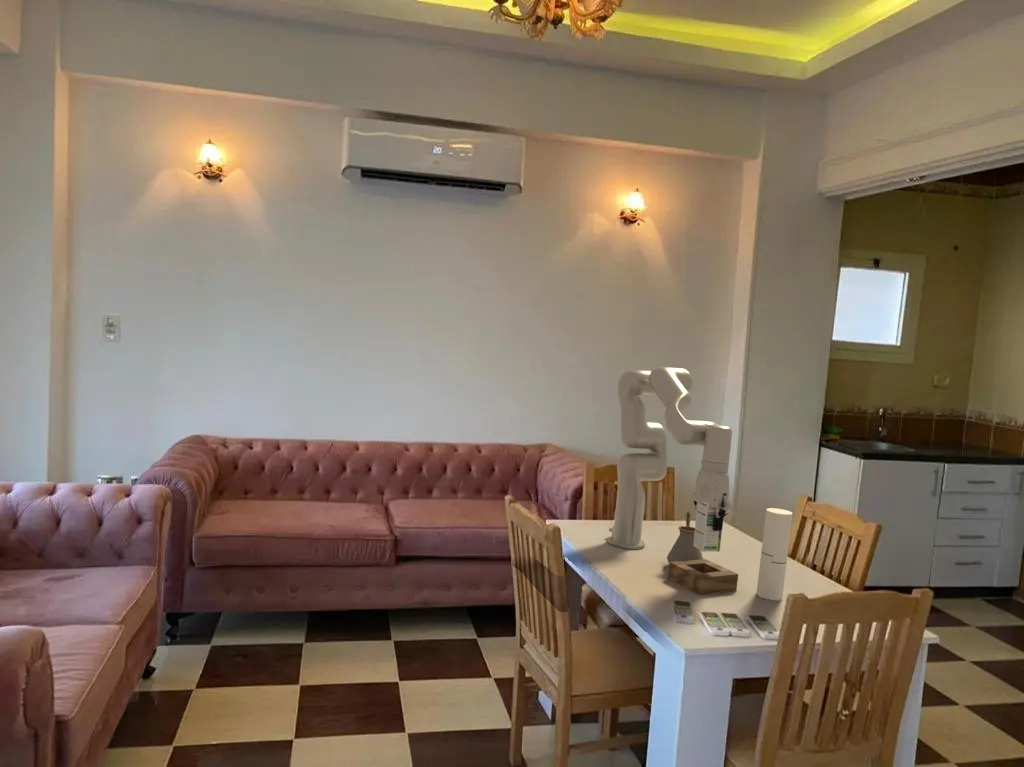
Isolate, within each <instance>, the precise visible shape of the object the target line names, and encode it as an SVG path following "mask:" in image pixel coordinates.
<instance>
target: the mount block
mask: <svg viewBox="0 0 1024 767" xmlns="http://www.w3.org/2000/svg"><path fill="white" fill-rule="evenodd" d="M668 565H669V566H668V572H667V573H668V574H667V575H668V576H667V579H669V581H671V582H675V583H676V584H678V585H680V586H682V587H684V588H686V589H688V590H689V591H691V592H693V593H695V594H697V595H699V596H702V595H710V594H720V593H727V592H736V591H737V590H738V589H737V588H738V580H739V573H737V572H735V571H733V570H730V569H728V568H726V567H724V566H721V565H719V564H717V563H715V562H713V561H711V560H708V559H706V558H703V559H700V560H688V561H677V562H670V564H669V563H668Z"/></svg>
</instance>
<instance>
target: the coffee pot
mask: <svg viewBox="0 0 1024 767" xmlns="http://www.w3.org/2000/svg"><path fill="white" fill-rule="evenodd" d="M684 516H685V517H686V520H685V525H681V526H678V528H677V529H678V530H679V535H678V537H677V539H676V541H675V542H674V544H673V546H672V547H671V549H670V551H669V553H668V554H667V557H666V560H667V563H668V565H669V564H670V562H677V561H688V560H700V559H704V557H703V554H702V551H701V550H699V549H697V548H696V547H694V546H693V544H694V533H695V527H692V526H690V524H691V520H690V519H691V517H692V516H693V515H692V513H691V512H690V511H687V512H685V513H684Z"/></svg>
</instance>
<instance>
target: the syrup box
mask: <svg viewBox="0 0 1024 767" xmlns="http://www.w3.org/2000/svg"><path fill="white" fill-rule="evenodd" d="M723 505H724V504H723ZM720 506H721V504H720ZM696 512H697V513H695V522H696V523H695V526H694V528H695V533H694V544H693V546H694V547H696V548H697V549H699V550H701V553H702V552H705V553H706V552H716V553H717V552H720V550H721V543H722V542H721V540H722V532H723V529H722V530H721V531H713V521H714V517H716V515H715V510H714V508H712V507H709V503H708V502H706V501H705V502H703V504H701V503H698V502H697V510H696ZM719 512H720V509H719Z"/></svg>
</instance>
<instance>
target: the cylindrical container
mask: <svg viewBox="0 0 1024 767" xmlns="http://www.w3.org/2000/svg"><path fill="white" fill-rule="evenodd" d="M793 514H794V513H793V512H792V511H791V510H790V511H789V510H787V509H782V508H777V507H776V508H775V507H770V508H769V507H768V508H766V510H765V519H764V528H763V535H762V536H763V537H762V542H761V543H762V544H761V553H760V559H759V560H760V561H759V570H758V579H757V586H756V596H758V597H760V598H762V599H764V598H765V600H768V599H769V601H781V600H780V599H782V600H783V597H784V596H783V595H784V587H785V579H786V572H787V563H788V562H787V561H788V556H789V555H788V554H789V545H790V538H791V530H792V522H793V521H792V520H793Z"/></svg>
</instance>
